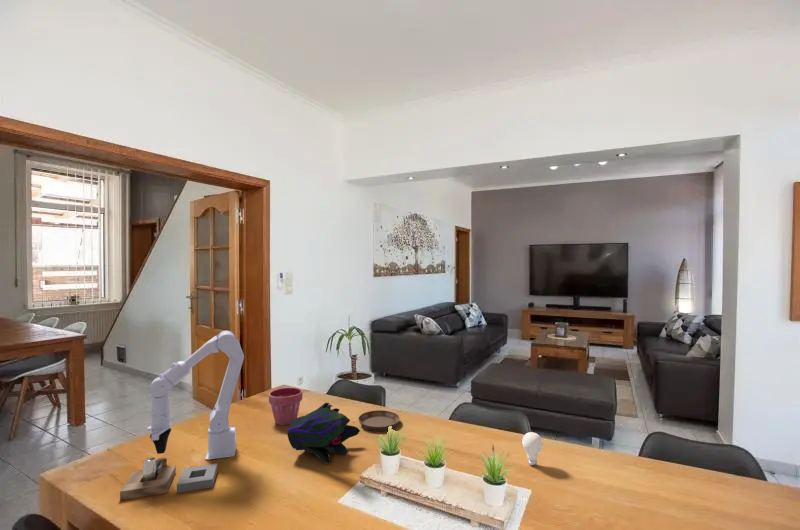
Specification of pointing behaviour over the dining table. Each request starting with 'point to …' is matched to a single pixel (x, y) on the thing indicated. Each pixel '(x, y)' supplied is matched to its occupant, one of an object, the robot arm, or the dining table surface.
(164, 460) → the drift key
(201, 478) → the block
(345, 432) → the decorative plant
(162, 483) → the socket block
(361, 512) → the dining table surface
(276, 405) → the plant pot
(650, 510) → the dining table surface
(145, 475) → the peg
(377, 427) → the plant saucer
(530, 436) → the light bulb
